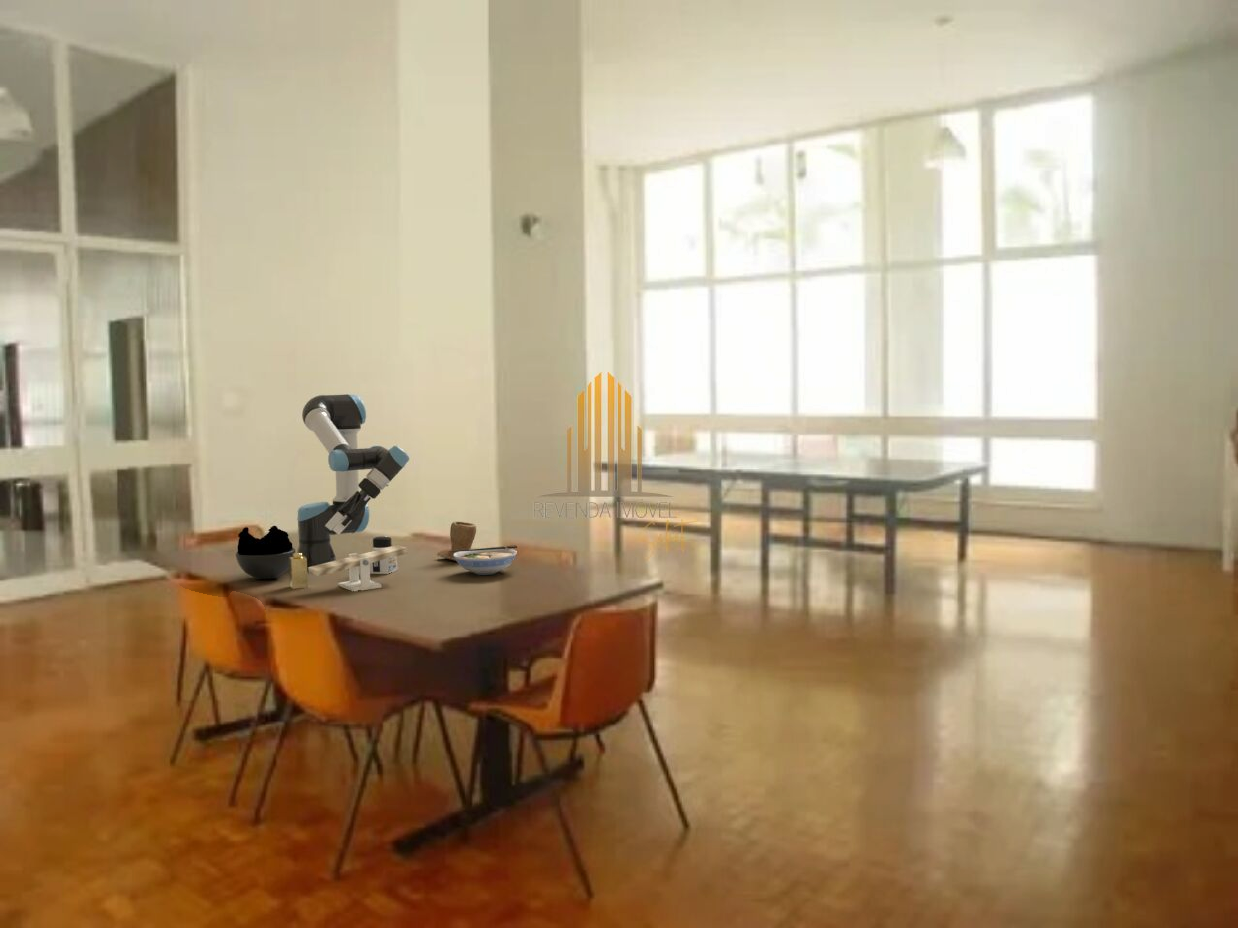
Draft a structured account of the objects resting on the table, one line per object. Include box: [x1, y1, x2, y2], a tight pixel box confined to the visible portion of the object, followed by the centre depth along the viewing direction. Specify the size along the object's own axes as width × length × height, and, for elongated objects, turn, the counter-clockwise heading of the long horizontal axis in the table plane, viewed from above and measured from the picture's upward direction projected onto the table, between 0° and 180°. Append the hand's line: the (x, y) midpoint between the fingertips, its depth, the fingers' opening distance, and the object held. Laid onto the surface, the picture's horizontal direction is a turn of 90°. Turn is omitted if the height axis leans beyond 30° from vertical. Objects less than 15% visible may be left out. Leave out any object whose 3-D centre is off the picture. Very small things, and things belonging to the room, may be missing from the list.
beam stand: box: [338, 553, 382, 592], centre depth 338 cm, size 10×13×10 cm
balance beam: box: [307, 544, 408, 577], centre depth 337 cm, size 32×8×2 cm, turn 126°
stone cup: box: [436, 520, 477, 562], centre depth 386 cm, size 15×12×15 cm
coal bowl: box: [235, 525, 296, 580], centre depth 354 cm, size 20×20×19 cm
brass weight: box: [289, 552, 309, 590], centre depth 339 cm, size 5×5×12 cm
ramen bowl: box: [449, 544, 518, 576], centre depth 357 cm, size 25×23×8 cm
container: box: [370, 535, 398, 575], centre depth 364 cm, size 8×8×13 cm
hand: (331, 530), depth 343 cm, fingers open, 13 cm apart
